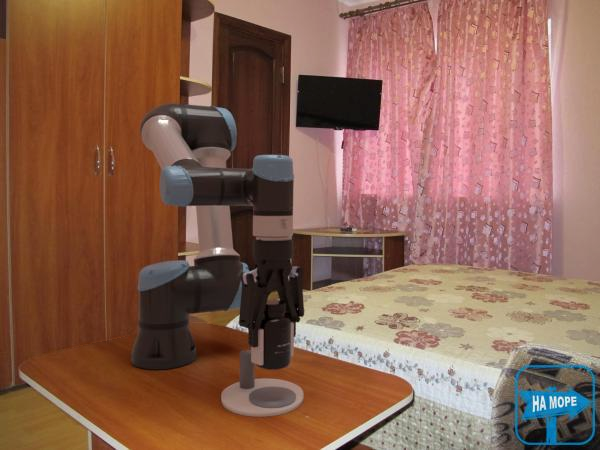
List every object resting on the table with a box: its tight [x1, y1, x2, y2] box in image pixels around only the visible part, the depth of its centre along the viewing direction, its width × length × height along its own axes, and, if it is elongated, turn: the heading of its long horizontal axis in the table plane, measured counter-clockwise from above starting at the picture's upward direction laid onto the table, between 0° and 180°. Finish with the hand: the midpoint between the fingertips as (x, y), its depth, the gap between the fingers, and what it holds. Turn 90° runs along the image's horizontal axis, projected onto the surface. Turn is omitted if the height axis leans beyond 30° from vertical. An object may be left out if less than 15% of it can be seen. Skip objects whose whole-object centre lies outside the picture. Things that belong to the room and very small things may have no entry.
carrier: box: [220, 349, 304, 418], centre depth 97 cm, size 16×16×8 cm
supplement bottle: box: [255, 299, 292, 371], centre depth 94 cm, size 7×7×12 cm
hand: (272, 358), depth 94 cm, fingers closed on supplement bottle, 7 cm apart
